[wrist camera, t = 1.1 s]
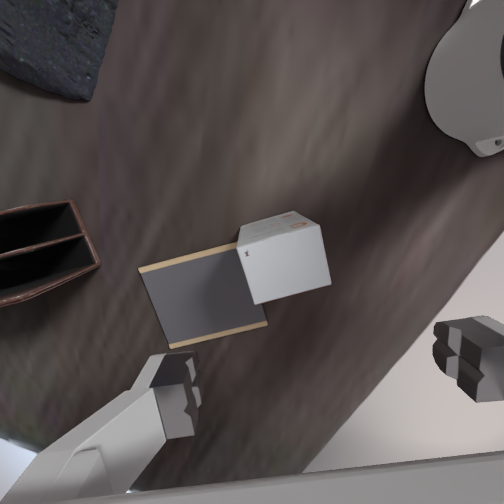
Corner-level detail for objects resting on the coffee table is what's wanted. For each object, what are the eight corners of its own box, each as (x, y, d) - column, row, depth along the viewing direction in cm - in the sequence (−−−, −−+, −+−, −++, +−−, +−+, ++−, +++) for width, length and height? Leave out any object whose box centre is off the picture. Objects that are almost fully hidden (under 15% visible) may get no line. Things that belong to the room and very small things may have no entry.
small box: (252, 266, 38) (252, 306, 25) (239, 225, 36) (234, 246, 23) (305, 251, 37) (333, 285, 24) (295, 209, 35) (319, 222, 23)
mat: (243, 239, 36) (243, 240, 36) (267, 323, 40) (267, 325, 39) (139, 267, 37) (138, 268, 37) (171, 347, 41) (170, 348, 40)
